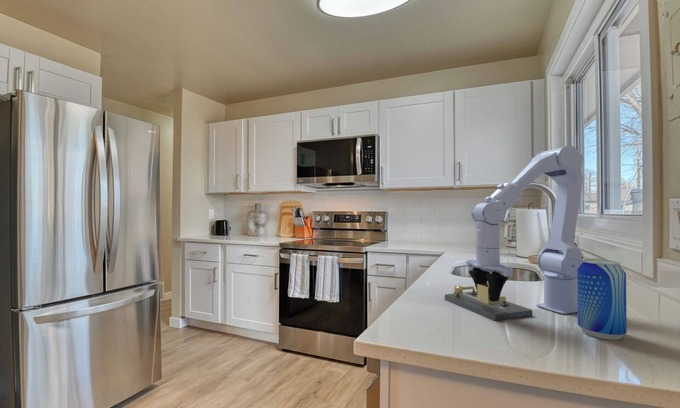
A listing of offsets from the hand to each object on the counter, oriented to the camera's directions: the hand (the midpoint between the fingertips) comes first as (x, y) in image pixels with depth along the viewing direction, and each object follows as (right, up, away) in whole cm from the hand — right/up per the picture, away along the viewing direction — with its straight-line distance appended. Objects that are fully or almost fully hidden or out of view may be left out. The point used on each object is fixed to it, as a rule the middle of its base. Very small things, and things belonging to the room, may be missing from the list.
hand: (488, 298), depth 88 cm
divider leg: (+2, -2, +1) cm, 3 cm away
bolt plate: (+1, -4, +5) cm, 6 cm away
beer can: (+18, -4, -15) cm, 24 cm away
